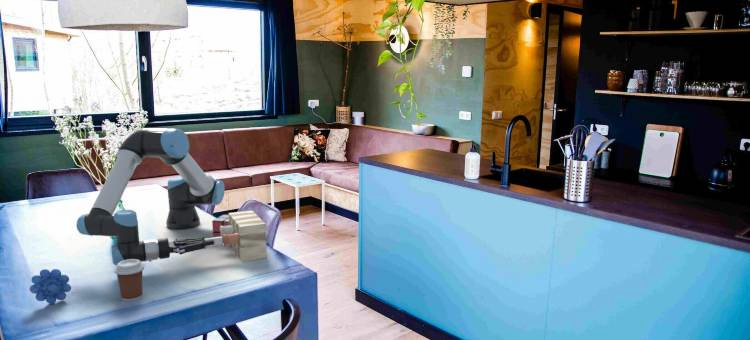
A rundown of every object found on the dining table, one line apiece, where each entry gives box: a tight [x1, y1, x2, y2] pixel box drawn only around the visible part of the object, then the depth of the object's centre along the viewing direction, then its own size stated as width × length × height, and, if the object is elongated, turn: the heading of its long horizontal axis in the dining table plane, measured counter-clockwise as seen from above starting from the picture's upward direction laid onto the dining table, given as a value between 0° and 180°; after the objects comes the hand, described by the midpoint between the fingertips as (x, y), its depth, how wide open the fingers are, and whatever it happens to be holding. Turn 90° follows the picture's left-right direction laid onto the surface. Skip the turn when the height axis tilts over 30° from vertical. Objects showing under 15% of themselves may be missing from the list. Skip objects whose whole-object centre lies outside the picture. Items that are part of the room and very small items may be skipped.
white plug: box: [220, 225, 233, 237], centre depth 230 cm, size 5×14×5 cm, turn 116°
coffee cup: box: [113, 259, 145, 302], centre depth 182 cm, size 9×9×12 cm
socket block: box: [227, 210, 268, 262], centre depth 226 cm, size 22×10×14 cm, turn 26°
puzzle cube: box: [211, 214, 229, 240], centre depth 240 cm, size 10×10×10 cm
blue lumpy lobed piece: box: [29, 268, 72, 305], centre depth 177 cm, size 12×7×12 cm, turn 136°
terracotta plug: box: [222, 233, 239, 247], centre depth 219 cm, size 5×14×5 cm, turn 116°
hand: (222, 240), depth 216 cm, fingers closed
